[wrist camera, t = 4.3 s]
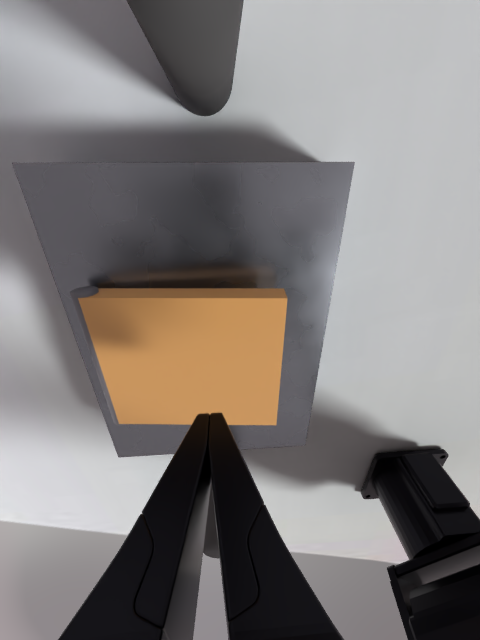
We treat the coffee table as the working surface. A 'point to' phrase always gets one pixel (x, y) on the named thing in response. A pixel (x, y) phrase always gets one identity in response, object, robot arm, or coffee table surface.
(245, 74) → the coffee table surface
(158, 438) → the grey flat block
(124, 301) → the orange flat block
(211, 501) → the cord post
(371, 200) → the coffee table surface
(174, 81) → the post
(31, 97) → the coffee table surface
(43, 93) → the coffee table surface
